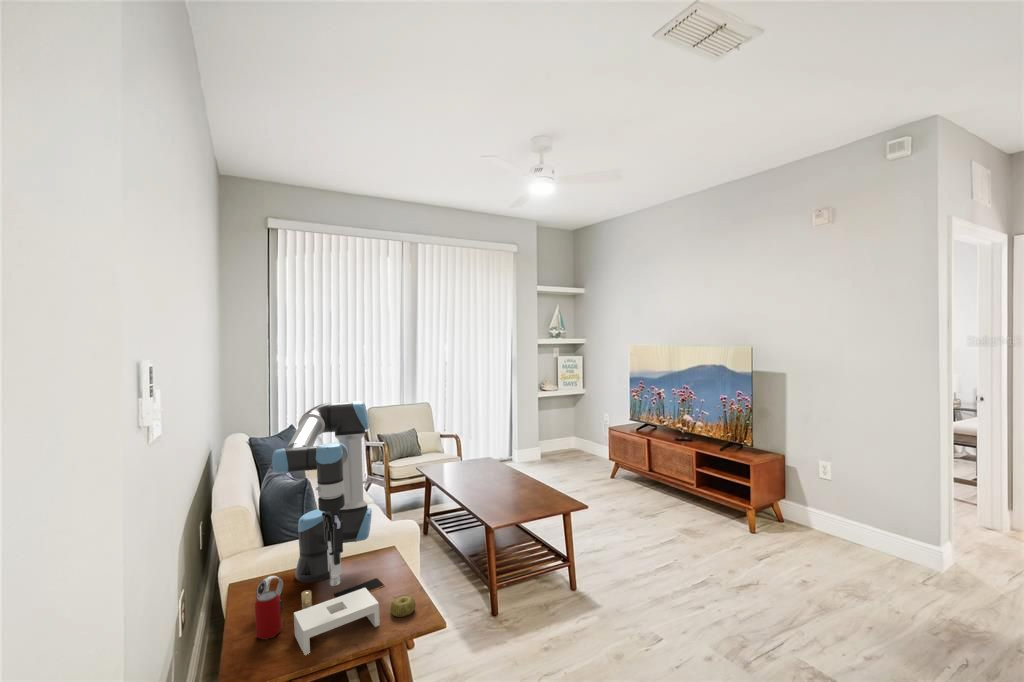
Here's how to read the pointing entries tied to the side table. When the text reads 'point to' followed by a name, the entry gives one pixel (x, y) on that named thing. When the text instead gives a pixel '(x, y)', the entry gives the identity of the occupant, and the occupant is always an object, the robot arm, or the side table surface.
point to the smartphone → (368, 585)
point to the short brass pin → (306, 599)
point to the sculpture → (402, 606)
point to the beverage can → (268, 615)
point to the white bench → (334, 615)
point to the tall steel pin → (333, 579)
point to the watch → (264, 587)
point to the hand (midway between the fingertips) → (334, 571)
